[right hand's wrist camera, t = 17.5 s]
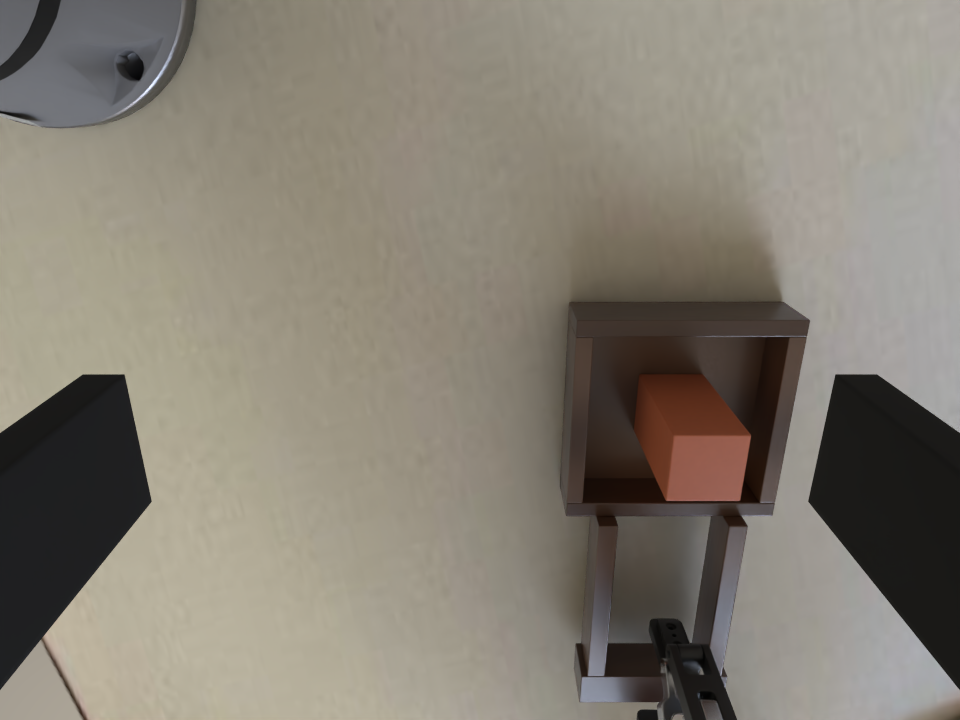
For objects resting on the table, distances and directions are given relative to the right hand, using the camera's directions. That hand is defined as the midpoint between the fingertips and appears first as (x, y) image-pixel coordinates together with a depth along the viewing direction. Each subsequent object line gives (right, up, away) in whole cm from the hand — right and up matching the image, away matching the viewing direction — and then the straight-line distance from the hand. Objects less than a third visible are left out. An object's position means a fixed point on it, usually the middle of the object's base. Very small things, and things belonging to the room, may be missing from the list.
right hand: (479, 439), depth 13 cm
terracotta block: (+12, -1, +30) cm, 32 cm away
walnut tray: (+12, -8, +33) cm, 36 cm away
